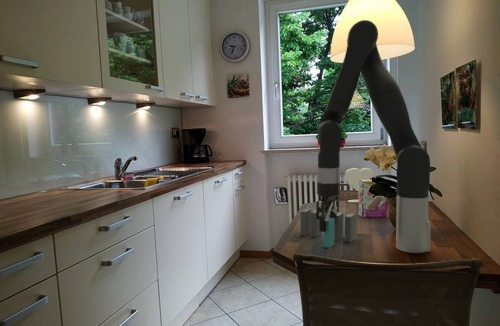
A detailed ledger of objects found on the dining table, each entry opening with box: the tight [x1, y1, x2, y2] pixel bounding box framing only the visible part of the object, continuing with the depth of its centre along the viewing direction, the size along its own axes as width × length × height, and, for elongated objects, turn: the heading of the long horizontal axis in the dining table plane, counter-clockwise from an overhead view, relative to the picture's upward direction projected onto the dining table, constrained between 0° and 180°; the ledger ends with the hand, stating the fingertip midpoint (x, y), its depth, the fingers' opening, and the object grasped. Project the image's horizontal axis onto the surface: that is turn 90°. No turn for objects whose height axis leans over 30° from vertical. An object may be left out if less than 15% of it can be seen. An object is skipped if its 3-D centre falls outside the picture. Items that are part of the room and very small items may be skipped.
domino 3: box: [322, 217, 336, 249], centre depth 122 cm, size 2×5×9 cm, turn 147°
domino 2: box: [310, 210, 323, 238], centre depth 134 cm, size 2×5×9 cm, turn 147°
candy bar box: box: [358, 180, 388, 219], centre depth 160 cm, size 11×5×16 cm, turn 92°
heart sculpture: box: [344, 167, 377, 203], centre depth 196 cm, size 16×5×18 cm, turn 78°
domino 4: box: [335, 211, 345, 242], centre depth 129 cm, size 2×5×9 cm, turn 147°
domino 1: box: [300, 208, 312, 237], centre depth 136 cm, size 2×5×9 cm, turn 146°
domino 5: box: [344, 213, 356, 243], centre depth 127 cm, size 2×5×9 cm, turn 147°
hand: (327, 228), depth 122 cm, fingers open, 8 cm apart
